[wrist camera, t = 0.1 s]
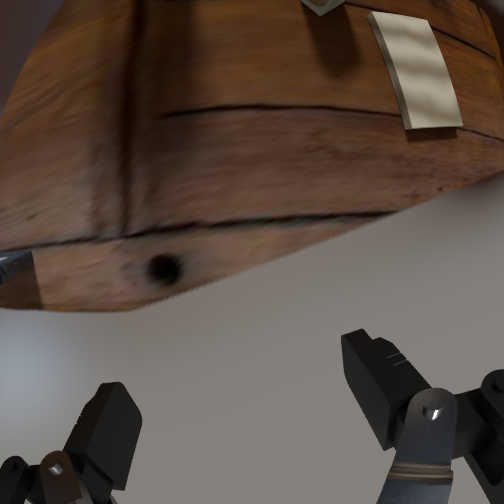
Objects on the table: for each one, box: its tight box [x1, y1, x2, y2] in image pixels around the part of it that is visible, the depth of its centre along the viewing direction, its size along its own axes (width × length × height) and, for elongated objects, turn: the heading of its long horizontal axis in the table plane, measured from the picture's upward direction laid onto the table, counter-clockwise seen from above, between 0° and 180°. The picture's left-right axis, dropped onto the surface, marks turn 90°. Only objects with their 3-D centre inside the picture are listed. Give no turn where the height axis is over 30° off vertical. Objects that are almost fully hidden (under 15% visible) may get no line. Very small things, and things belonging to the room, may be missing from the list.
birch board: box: [367, 12, 463, 130], centre depth 32 cm, size 20×12×2 cm, turn 14°
